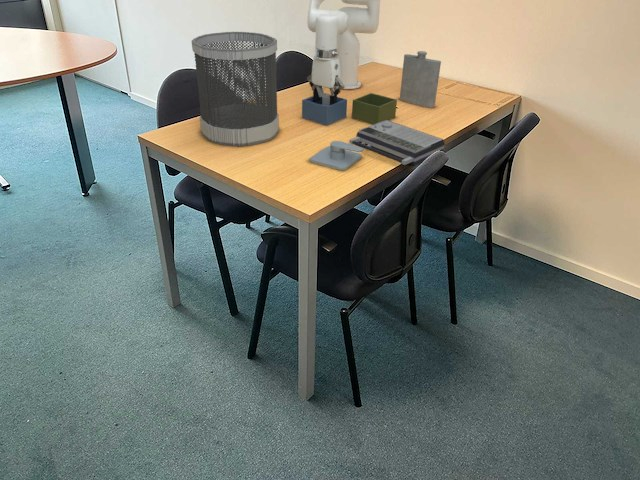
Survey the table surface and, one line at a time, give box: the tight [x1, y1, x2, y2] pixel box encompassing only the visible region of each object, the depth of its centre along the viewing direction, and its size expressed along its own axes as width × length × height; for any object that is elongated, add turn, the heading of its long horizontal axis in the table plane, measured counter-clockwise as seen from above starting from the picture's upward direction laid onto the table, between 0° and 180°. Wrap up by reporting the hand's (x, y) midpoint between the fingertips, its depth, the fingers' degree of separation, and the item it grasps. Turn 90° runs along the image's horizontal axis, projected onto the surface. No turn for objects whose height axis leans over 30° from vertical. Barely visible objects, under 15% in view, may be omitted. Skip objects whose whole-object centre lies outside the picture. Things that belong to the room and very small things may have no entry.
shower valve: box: [309, 140, 365, 172], centre depth 161 cm, size 12×6×15 cm
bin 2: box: [351, 92, 398, 125], centre depth 194 cm, size 12×12×7 cm
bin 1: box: [301, 92, 348, 127], centre depth 192 cm, size 12×12×7 cm
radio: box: [348, 120, 446, 167], centre depth 169 cm, size 24×5×20 cm
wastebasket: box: [191, 31, 280, 147], centre depth 173 cm, size 25×25×30 cm
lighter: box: [316, 85, 331, 106], centre depth 190 cm, size 7×2×8 cm, turn 51°
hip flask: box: [399, 50, 442, 109], centre depth 206 cm, size 16×4×20 cm, turn 49°
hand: (324, 103), depth 191 cm, fingers closed on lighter, 7 cm apart
